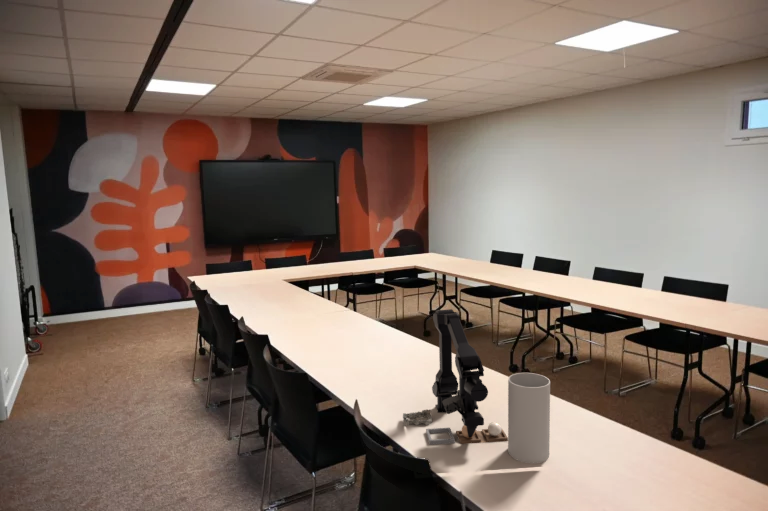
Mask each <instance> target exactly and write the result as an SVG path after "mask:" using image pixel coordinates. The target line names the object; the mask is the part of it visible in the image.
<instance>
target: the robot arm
mask: <svg viewBox="0 0 768 511" xmlns="http://www.w3.org/2000/svg"><path fill="white" fill-rule="evenodd" d="M432 319H433V320H432V321H433V323H434V327H435V328H436V329H437V331H438V341H439V342H438V348H439V349H438V351H439V352H438V353H439V369H438V371H437V373H436V374H435V381H434V382H433V385H432V386H431V390H432V394H433V395H434V397H435V398H437V399H436V400H437V404H435V409H436V411H437V413H440V414H441V413H446V415H447V414H448V415H450V414H452V413H455V412H458V413H459V414H460V415H461V422H462V424H463V426H464V425H465V426H466V427H467V433H468V437H472V436H473V434H474V432H475V430H477V428H478V426H480V427H481V426H484V424H485V418H484V416H483V414H482V413H480V412H479V411H476V410H479V406H478V404H477V402H478V403H479V402H483V401H484V400H486V399H487V398H488V395H489V390H488V388H487V386H486V385H485V384H484V383H483V380H482V379H481V378H480V377H484V376H485V374H484V371H485V369H484V366H483V362H482V360H481V358H480V356H479V355H478V352H477V351H476V349H475V348H474V347H473V346H471V345H470V343H469V341H468V338H467V336H466V332H465V331H464V328H463V324H462V323H461V316H460V314H459V312H458V311H454V309H453V308H451V309H450V308H448V309H437V310H435V312H434V313H433V315H432ZM452 342H453V344H452ZM452 345H453V346H454V348H455V350H456V353H455V357H454V364H455V367H456V370H457V373H458V376H459V377H457V376H456V374H455V373H454V372H453V350H452V348H453V347H452Z"/></svg>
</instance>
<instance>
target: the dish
mask: <svg viewBox="0 0 768 511" xmlns="http://www.w3.org/2000/svg"><path fill="white" fill-rule="evenodd" d="M425 433H426V437H427V440H428V443H429V445H430V446H431V445H446V444H456V438H455V436H454V434H453V432H452V429H451V427H436V428H435V427H434V428H426V429H425ZM439 433H440V434H442V433H443V434H445V433H448V435H449V438H437V439H432V438H431V437H432V436H431V434H439Z"/></svg>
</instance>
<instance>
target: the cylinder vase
mask: <svg viewBox="0 0 768 511" xmlns="http://www.w3.org/2000/svg"><path fill="white" fill-rule="evenodd" d="M507 384H508V386H507V387H508V388H507V390H508V391H507V396H508V397H507V400H508V401H507V403H508V404H507V405H508V406H507V414H508V415H507V417H508V418H507V422H508V423H507V428H508V429H507V430H508V431H507V432H508V433H507V434H508V435H507V437H508V441H507V444H508V445H507V447H508V448H507V451H508V454H509V456H510V457H511V458H513V459H514V460H515V461H518V462H521V463H526V464H541V463H544V462H546V461H547V460H549V458H550V438H551V436H550V435H551V434H550V432H551V431H550V426H551V425H550V422H551V417H550V416H551V380H550V379H549V378H548V377H547V376H545V375H542V374H538V373H533V372H518V373H513V374H511V375H509V376H508V378H507Z"/></svg>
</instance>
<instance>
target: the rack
mask: <svg viewBox="0 0 768 511" xmlns="http://www.w3.org/2000/svg"><path fill="white" fill-rule="evenodd" d="M501 429H502V431H501V434H500V435H499V436H496V437H494V436H491V435H490V434H489V432H488V428H484V429H483V428H482V429H481V430H477V429H476V430H475V435H474V436H473V437H472V438H466V437H464V436H463V434H462V430H456V431H455V434H456V436H457V438H458V441H459V443H460V445H464V444H465V445H468V444H481V443H482V444H483V443H485V444H486V443H497V442H498V443H500V442H508V435H506V433H505V431H504V430H503V428H502V427H501Z"/></svg>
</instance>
